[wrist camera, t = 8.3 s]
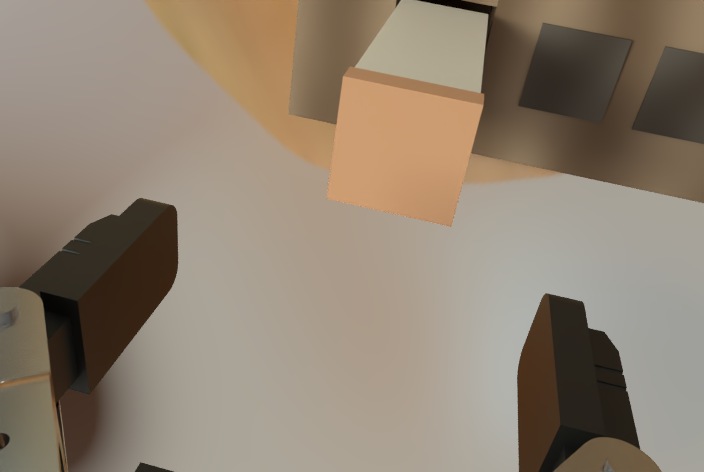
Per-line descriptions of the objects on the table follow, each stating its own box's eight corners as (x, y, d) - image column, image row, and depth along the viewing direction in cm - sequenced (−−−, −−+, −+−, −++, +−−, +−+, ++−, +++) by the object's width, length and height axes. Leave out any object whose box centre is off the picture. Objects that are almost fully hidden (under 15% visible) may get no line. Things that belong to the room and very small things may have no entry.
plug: (491, 12, 29) (483, 105, 18) (469, 99, 31) (451, 226, 21) (400, -5, 29) (343, 76, 19) (385, 82, 31) (326, 198, 21)
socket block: (767, -26, 31) (818, -2, 26) (682, 156, 37) (711, 205, 32) (336, -103, 33) (306, -94, 28) (316, 80, 39) (287, 115, 34)
